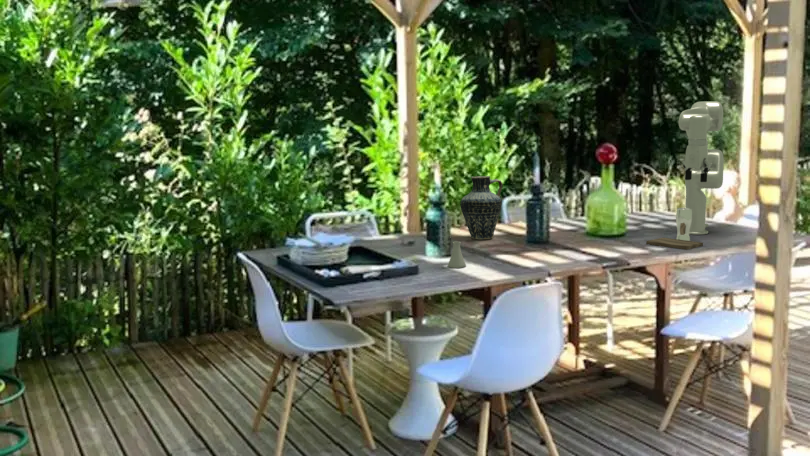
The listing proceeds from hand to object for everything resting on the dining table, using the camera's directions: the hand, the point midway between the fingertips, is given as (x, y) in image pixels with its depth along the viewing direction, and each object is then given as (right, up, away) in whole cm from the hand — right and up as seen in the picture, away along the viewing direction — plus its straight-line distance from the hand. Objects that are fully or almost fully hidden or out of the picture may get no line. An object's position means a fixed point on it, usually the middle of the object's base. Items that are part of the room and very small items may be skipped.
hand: (695, 180), depth 371 cm
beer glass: (-2, -27, +12) cm, 30 cm away
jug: (-95, -27, +23) cm, 101 cm away
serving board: (-10, -29, 0) cm, 31 cm away
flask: (-111, -37, -45) cm, 125 cm away
